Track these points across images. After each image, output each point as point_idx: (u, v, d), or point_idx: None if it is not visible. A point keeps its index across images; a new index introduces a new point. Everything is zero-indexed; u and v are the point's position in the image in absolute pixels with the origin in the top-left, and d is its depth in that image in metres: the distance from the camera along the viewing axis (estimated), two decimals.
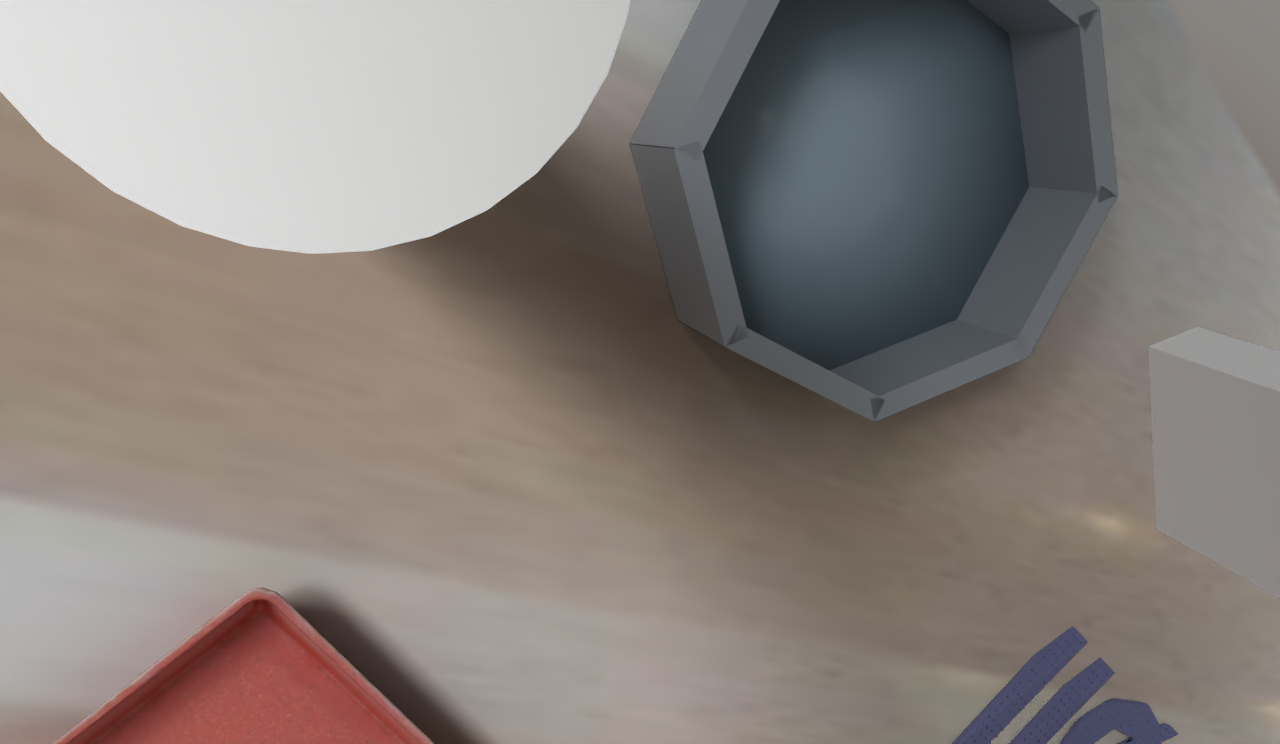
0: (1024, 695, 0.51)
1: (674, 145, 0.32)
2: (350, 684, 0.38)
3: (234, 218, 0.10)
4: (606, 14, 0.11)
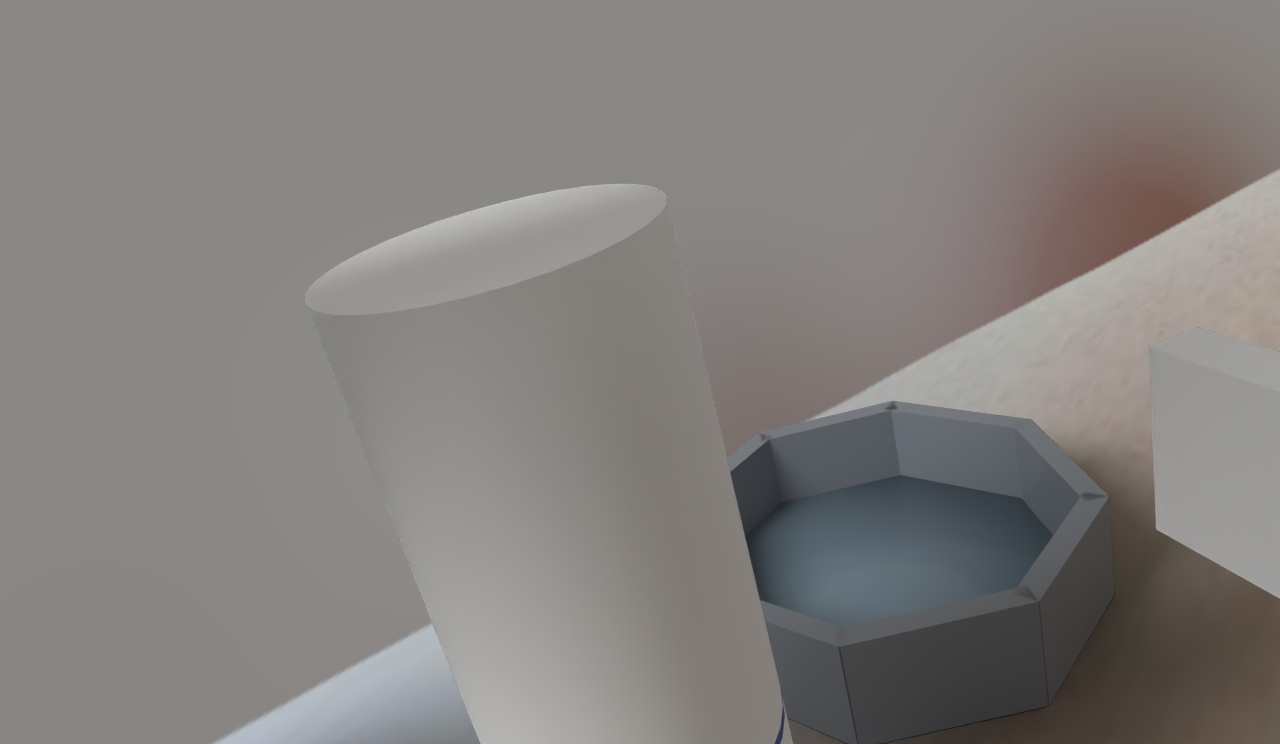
0: None
1: (836, 647, 0.35)
2: None
3: (627, 230, 0.16)
4: (578, 189, 0.21)
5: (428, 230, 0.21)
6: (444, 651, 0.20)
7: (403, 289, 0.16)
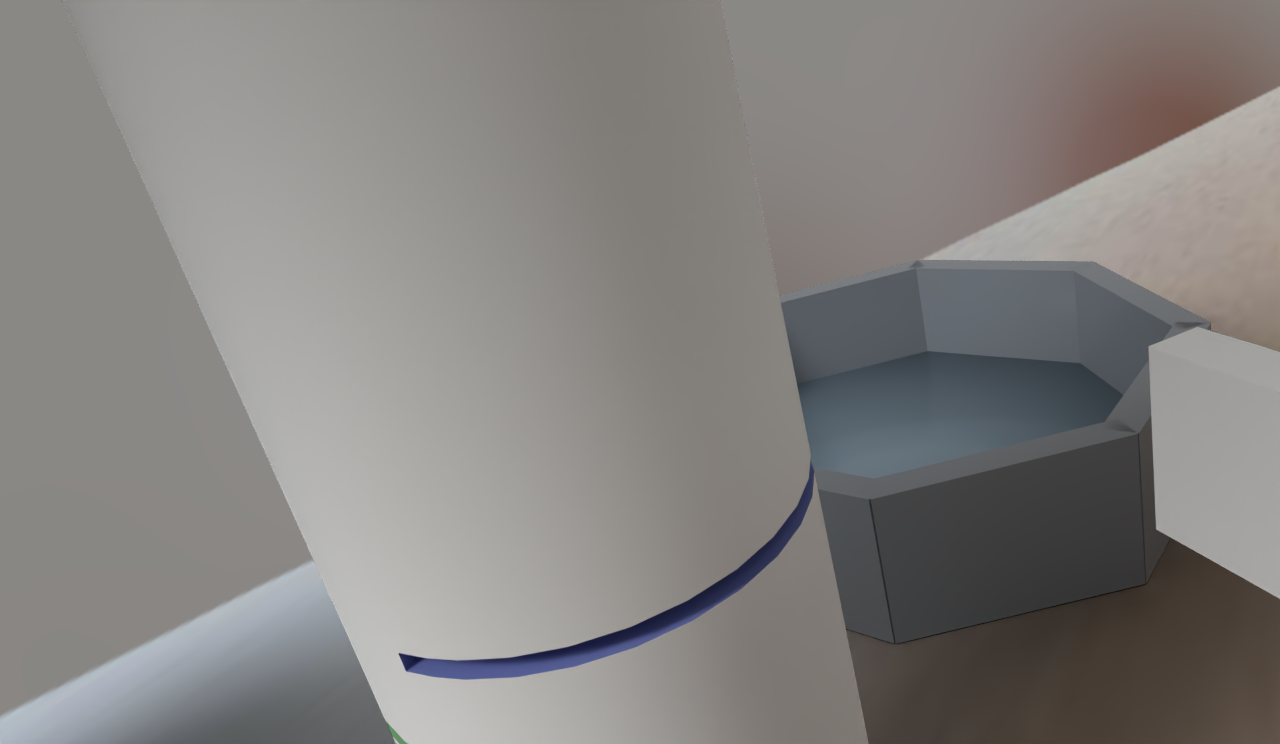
0: None
1: (866, 500, 0.26)
2: None
3: None
4: None
5: None
6: None
7: None
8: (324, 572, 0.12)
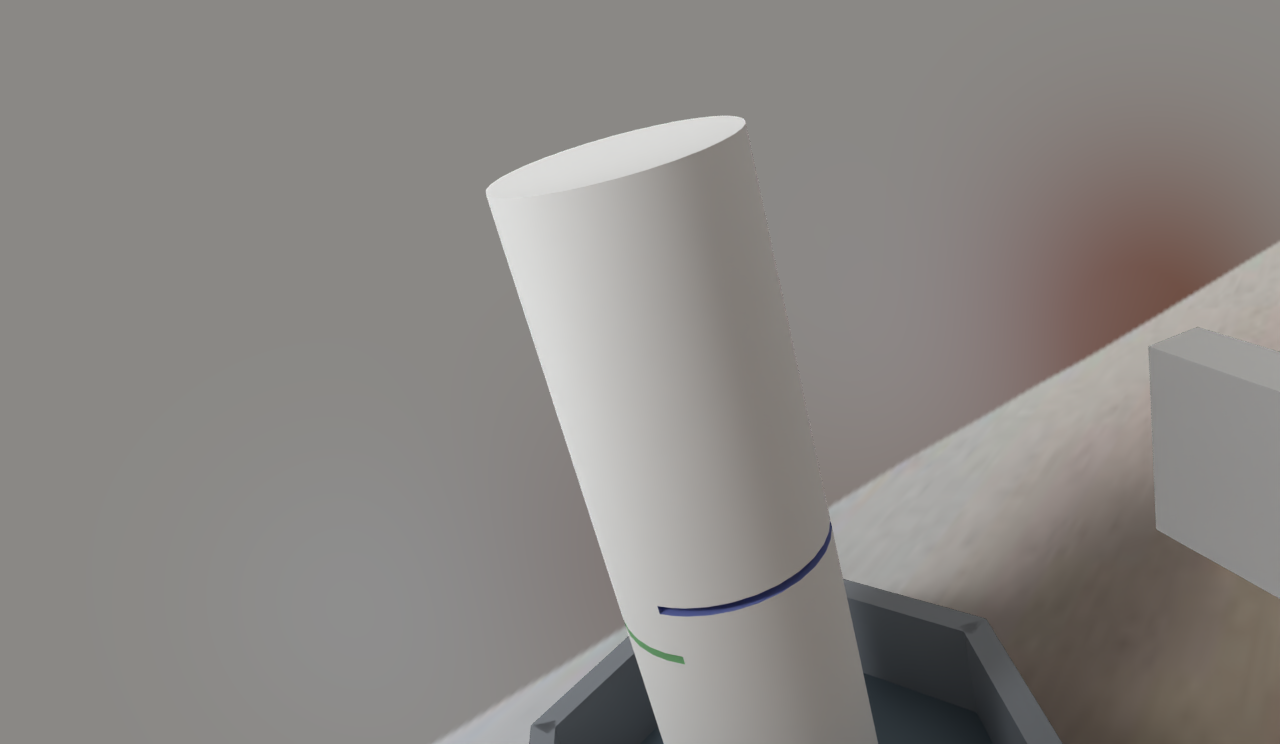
0: None
1: None
2: None
3: (721, 137, 0.23)
4: (671, 123, 0.28)
5: (560, 155, 0.28)
6: (578, 465, 0.27)
7: (564, 181, 0.23)
8: (621, 572, 0.28)
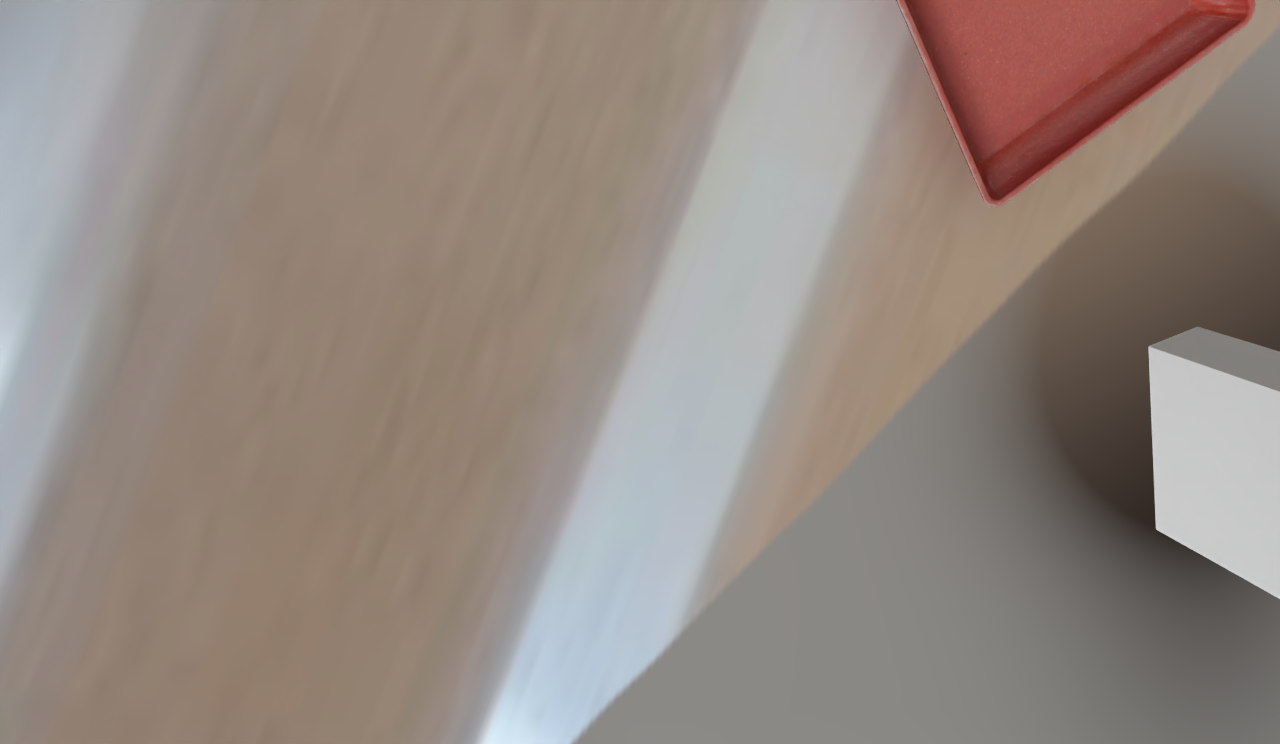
0: None
1: None
2: None
3: None
4: None
5: None
6: None
7: None
8: None
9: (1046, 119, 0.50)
